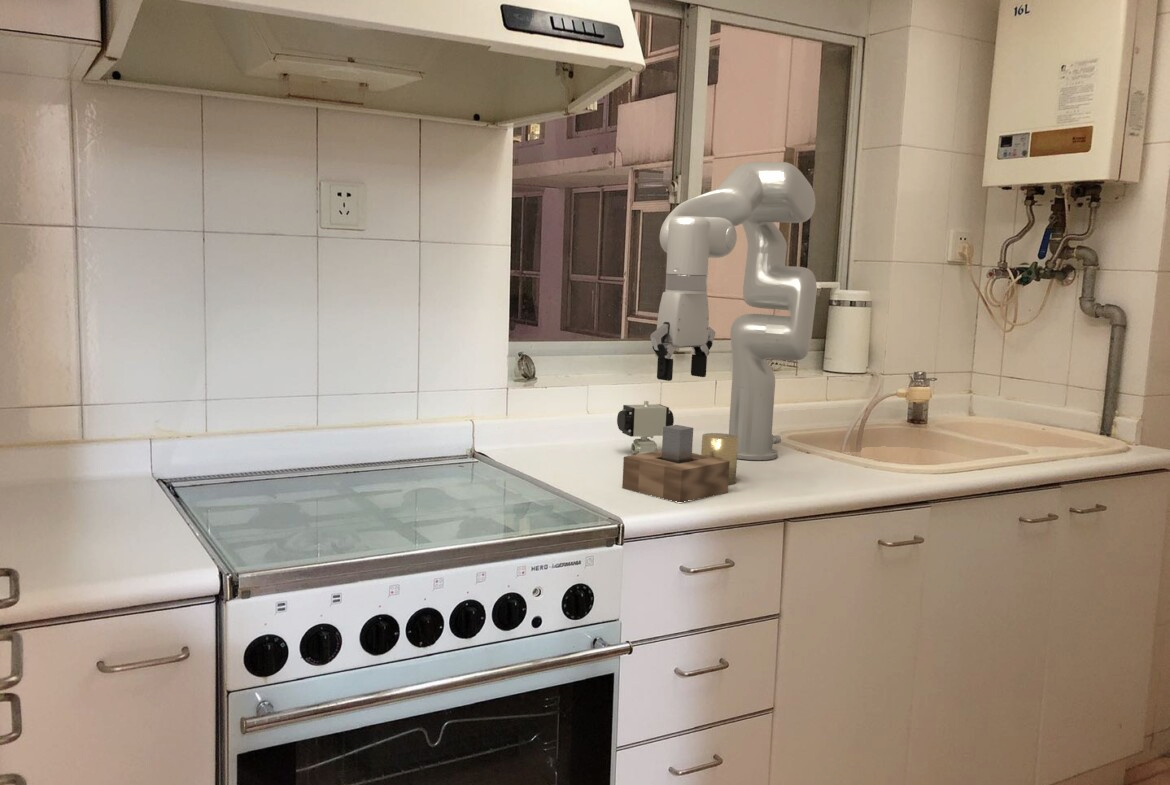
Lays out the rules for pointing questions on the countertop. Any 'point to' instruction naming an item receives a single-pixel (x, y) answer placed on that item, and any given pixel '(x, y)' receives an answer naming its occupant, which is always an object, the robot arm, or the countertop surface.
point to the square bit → (677, 444)
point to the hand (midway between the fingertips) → (681, 378)
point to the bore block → (675, 476)
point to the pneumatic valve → (644, 424)
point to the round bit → (722, 450)
